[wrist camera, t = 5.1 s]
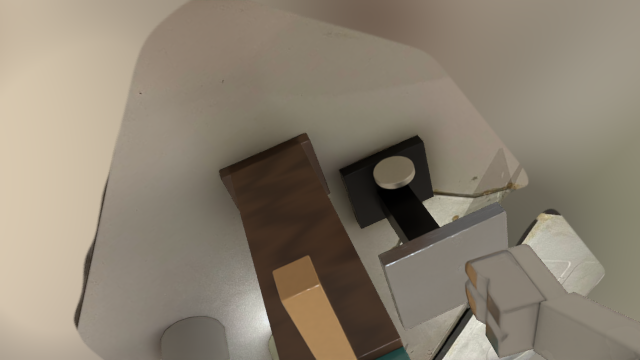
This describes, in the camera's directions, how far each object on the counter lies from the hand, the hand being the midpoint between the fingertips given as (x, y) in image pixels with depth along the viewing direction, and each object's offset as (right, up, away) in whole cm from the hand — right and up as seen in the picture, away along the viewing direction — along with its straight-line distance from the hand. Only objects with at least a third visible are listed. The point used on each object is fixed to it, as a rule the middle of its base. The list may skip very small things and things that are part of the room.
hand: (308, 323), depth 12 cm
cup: (-17, -18, +53) cm, 58 cm away
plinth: (-5, +4, +42) cm, 42 cm away
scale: (+8, +3, +47) cm, 48 cm away
